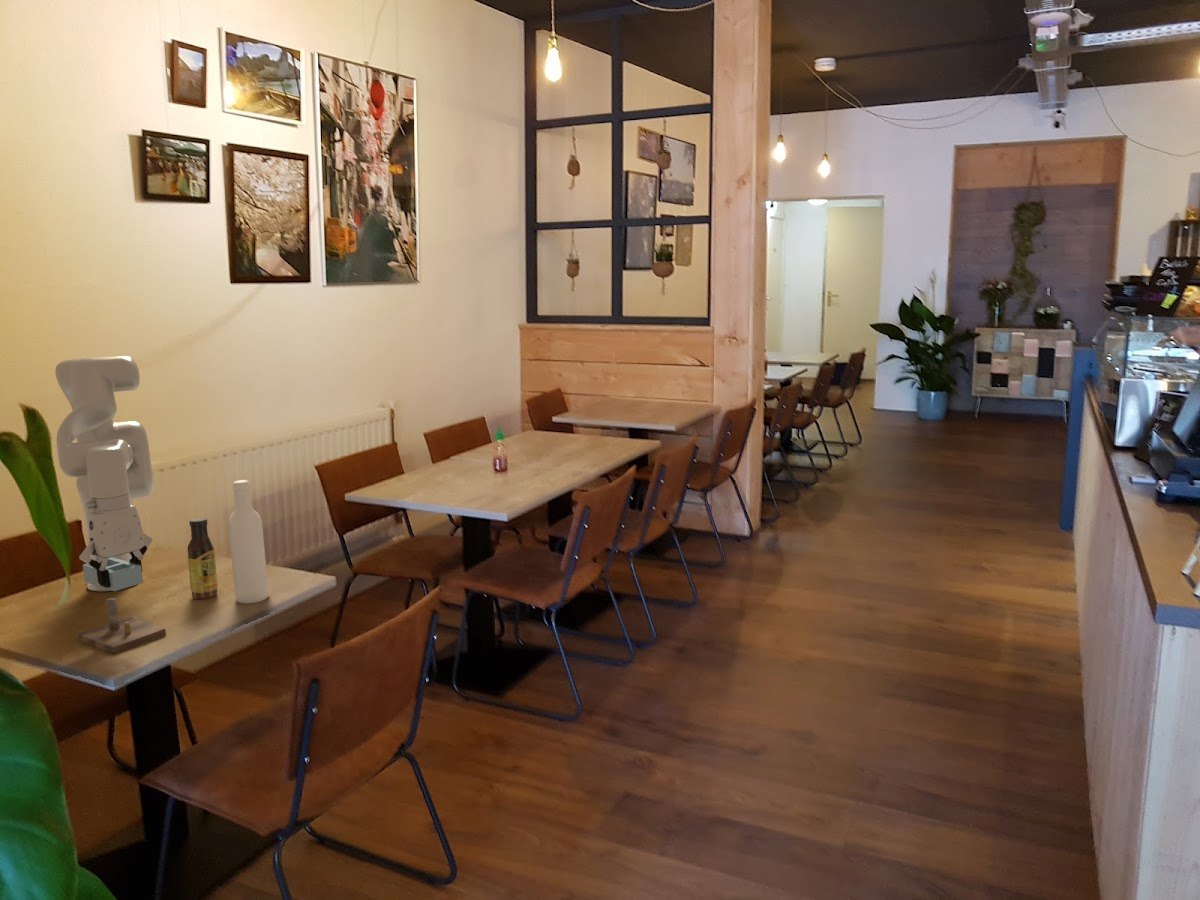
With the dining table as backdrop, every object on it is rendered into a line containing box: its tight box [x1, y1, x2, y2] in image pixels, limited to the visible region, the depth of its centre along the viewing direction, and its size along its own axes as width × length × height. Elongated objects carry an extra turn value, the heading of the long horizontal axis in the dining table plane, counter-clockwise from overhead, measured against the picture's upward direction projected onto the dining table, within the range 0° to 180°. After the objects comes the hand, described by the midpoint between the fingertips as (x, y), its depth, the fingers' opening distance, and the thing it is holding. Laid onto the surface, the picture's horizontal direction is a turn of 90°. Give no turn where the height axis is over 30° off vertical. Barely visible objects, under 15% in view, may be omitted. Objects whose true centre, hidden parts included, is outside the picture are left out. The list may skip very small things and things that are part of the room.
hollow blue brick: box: [82, 557, 144, 592], centre depth 203 cm, size 12×6×4 cm, turn 57°
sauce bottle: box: [187, 517, 219, 600], centre depth 229 cm, size 6×6×20 cm
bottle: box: [227, 479, 270, 605], centre depth 226 cm, size 8×8×30 cm
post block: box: [78, 597, 167, 655], centre depth 205 cm, size 14×12×8 cm
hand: (121, 580), depth 201 cm, fingers closed on hollow blue brick, 6 cm apart
